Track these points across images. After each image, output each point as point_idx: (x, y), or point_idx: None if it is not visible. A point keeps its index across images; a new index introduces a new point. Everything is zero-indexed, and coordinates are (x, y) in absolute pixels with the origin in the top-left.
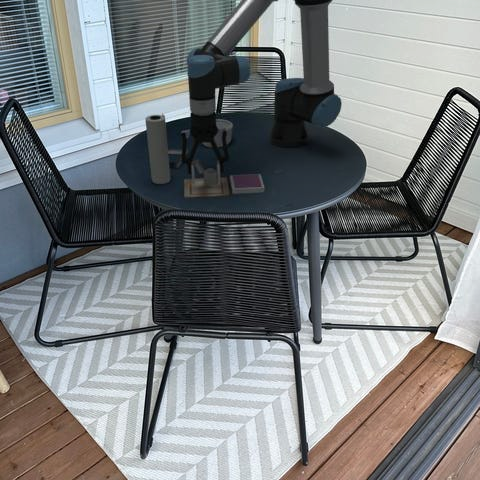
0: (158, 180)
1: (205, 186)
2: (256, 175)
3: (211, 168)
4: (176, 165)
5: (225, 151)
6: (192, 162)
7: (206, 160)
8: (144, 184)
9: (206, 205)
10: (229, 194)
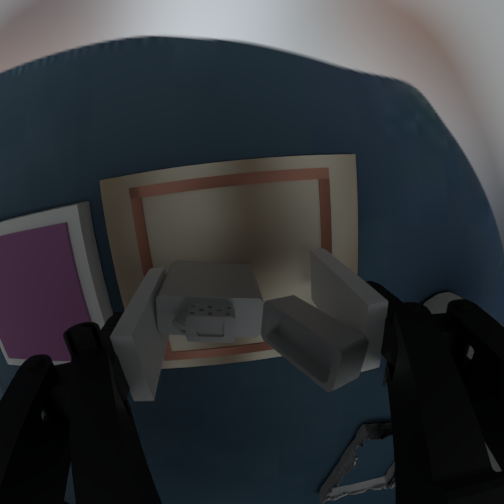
0: (457, 298)
1: None
2: (10, 349)
3: (200, 337)
4: (370, 430)
5: (7, 427)
6: (371, 360)
7: (254, 477)
8: (481, 287)
9: (226, 63)
10: (100, 180)
